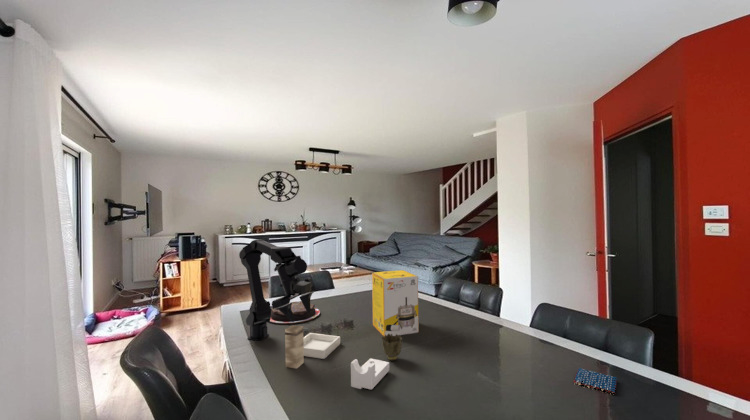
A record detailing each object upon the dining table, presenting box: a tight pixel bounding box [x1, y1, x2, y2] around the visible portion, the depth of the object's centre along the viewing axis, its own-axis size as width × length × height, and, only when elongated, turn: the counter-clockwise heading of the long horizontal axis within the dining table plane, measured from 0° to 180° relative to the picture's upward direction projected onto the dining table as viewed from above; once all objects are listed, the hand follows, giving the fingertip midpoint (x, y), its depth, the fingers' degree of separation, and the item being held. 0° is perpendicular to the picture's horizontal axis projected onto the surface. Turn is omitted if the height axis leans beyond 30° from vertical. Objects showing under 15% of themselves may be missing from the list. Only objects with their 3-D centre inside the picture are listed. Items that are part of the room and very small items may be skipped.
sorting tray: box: [303, 332, 341, 360], centre depth 125 cm, size 14×14×3 cm
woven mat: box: [573, 367, 618, 394], centre depth 98 cm, size 10×11×2 cm
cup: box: [381, 334, 403, 362], centre depth 115 cm, size 8×7×8 cm
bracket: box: [350, 357, 390, 390], centre depth 102 cm, size 13×7×8 cm, turn 153°
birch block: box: [284, 324, 305, 369], centre depth 112 cm, size 5×5×13 cm
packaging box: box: [371, 269, 420, 337], centre depth 146 cm, size 16×16×25 cm
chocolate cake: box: [270, 301, 321, 325], centre depth 167 cm, size 28×28×7 cm
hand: (301, 316), depth 123 cm, fingers open, 9 cm apart
